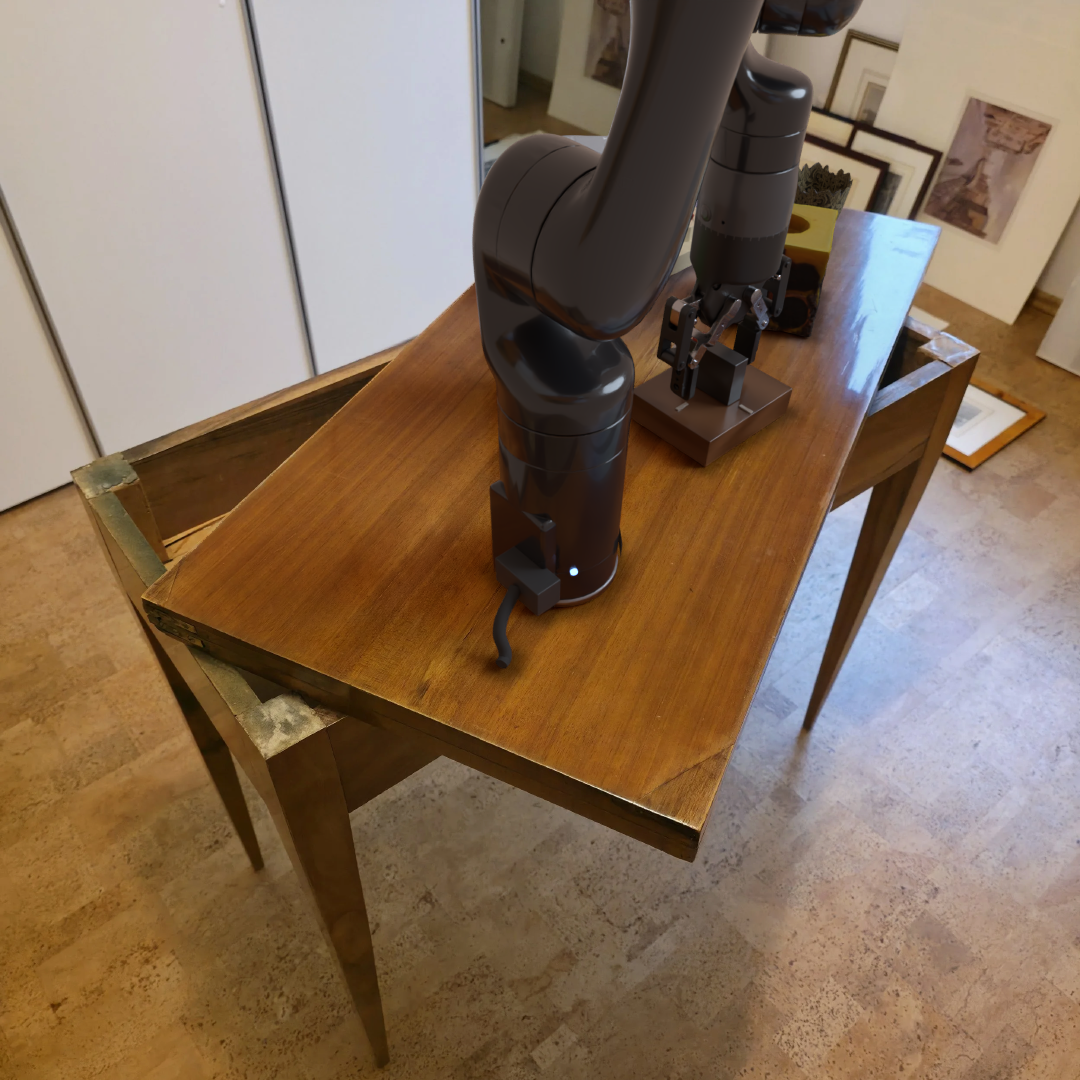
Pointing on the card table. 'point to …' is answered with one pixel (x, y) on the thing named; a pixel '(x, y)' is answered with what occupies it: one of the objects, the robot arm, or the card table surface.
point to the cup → (822, 187)
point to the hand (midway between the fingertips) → (713, 377)
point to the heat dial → (721, 372)
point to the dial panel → (709, 414)
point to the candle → (804, 268)
